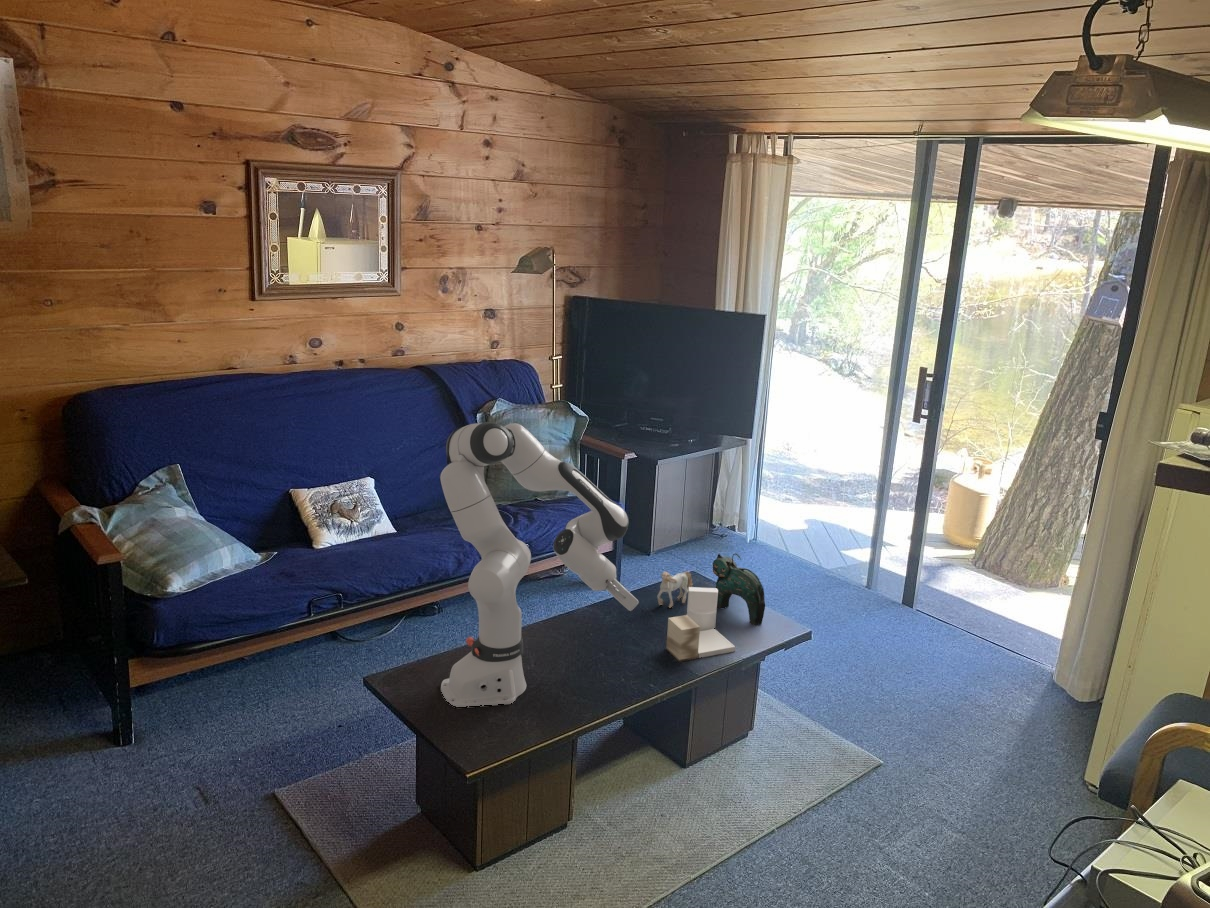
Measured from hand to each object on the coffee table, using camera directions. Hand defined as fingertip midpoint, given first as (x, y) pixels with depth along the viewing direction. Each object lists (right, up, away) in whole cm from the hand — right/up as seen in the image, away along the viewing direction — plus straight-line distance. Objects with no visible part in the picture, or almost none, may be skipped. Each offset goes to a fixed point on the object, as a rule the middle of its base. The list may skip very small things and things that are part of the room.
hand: (630, 602), depth 265 cm
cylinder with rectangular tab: (+22, -12, +30) cm, 39 cm away
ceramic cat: (+35, -10, +39) cm, 53 cm away
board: (+23, -15, +18) cm, 33 cm away
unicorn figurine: (+16, -8, +41) cm, 45 cm away
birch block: (+15, -17, +12) cm, 26 cm away
